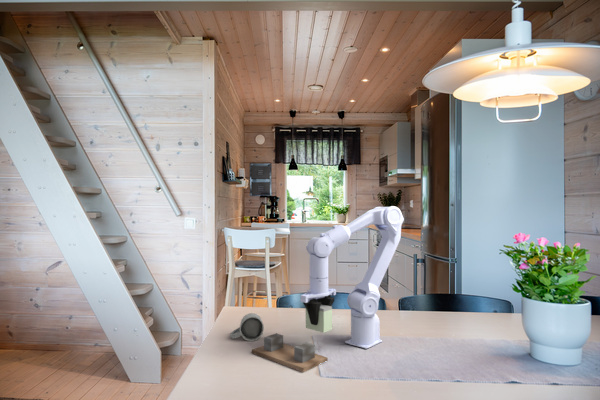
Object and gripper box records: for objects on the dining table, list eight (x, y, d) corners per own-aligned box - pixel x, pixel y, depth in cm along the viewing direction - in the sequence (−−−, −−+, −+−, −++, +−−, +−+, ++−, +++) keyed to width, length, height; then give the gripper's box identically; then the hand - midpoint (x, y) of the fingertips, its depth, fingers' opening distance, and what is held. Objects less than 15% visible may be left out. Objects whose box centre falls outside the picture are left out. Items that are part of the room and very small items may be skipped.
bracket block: (314, 325, 120) (314, 303, 120) (332, 329, 115) (332, 306, 115) (305, 327, 117) (305, 305, 117) (323, 332, 112) (323, 309, 112)
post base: (276, 344, 119) (276, 329, 119) (327, 361, 106) (327, 344, 106) (251, 353, 112) (251, 337, 112) (303, 372, 98) (303, 354, 99)
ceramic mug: (262, 332, 131) (261, 309, 131) (263, 340, 123) (263, 316, 123) (230, 334, 129) (230, 311, 129) (230, 343, 121) (229, 318, 121)
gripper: (323, 273, 125) (323, 315, 124) (292, 278, 114) (292, 325, 113) (341, 275, 120) (341, 319, 119) (311, 281, 109) (311, 330, 109)
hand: (318, 322), depth 116 cm, fingers closed on bracket block, 4 cm apart
